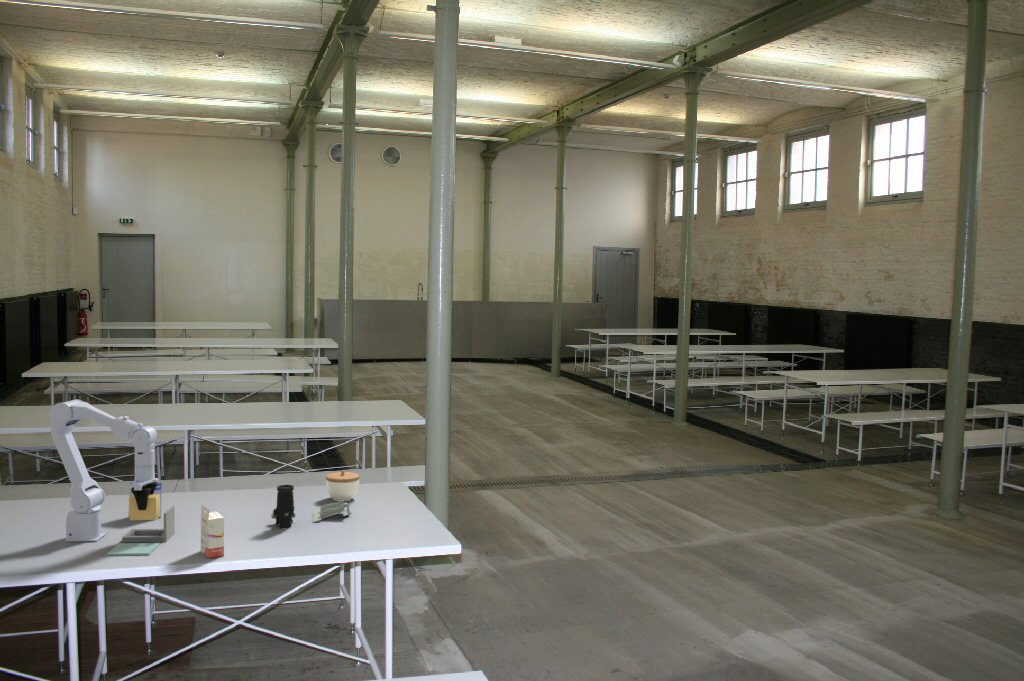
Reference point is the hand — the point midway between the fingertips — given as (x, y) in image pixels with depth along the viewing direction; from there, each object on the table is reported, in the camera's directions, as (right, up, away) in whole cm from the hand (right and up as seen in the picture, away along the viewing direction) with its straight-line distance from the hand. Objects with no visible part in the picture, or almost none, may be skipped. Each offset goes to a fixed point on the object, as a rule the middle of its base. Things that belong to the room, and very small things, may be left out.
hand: (144, 507), depth 267 cm
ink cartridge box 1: (-11, -9, +26) cm, 30 cm away
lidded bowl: (+51, -8, +58) cm, 78 cm away
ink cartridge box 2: (+25, -12, -11) cm, 30 cm away
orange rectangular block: (0, -3, 0) cm, 3 cm away
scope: (+39, -10, +20) cm, 45 cm away
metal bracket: (+51, -10, +33) cm, 62 cm away
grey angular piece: (-1, -10, +3) cm, 11 cm away
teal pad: (+1, -11, -10) cm, 15 cm away
